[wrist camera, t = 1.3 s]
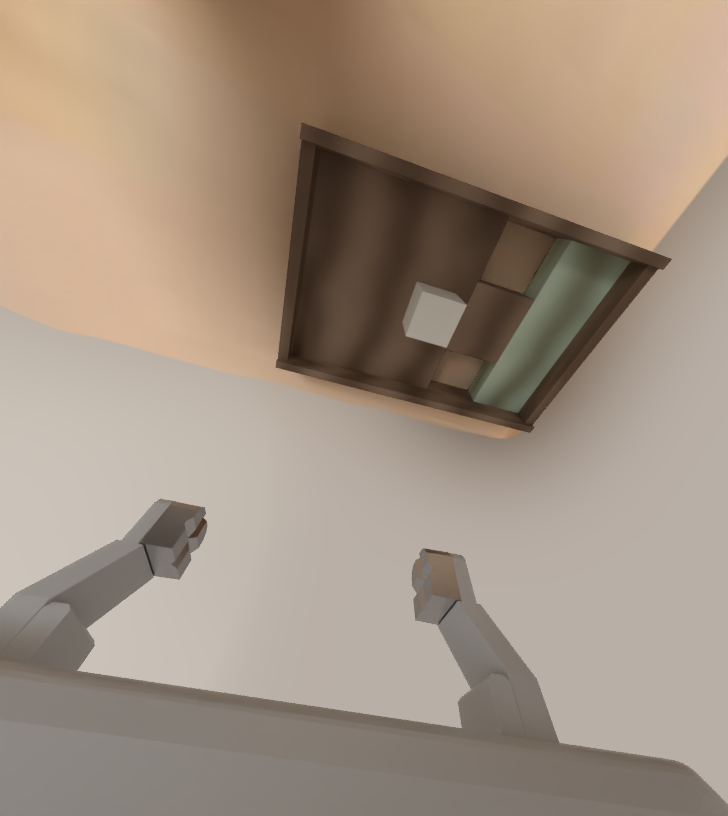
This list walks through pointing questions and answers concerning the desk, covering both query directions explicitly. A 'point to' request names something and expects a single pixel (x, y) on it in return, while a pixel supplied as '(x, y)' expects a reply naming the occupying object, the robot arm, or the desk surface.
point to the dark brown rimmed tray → (439, 285)
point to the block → (432, 314)
